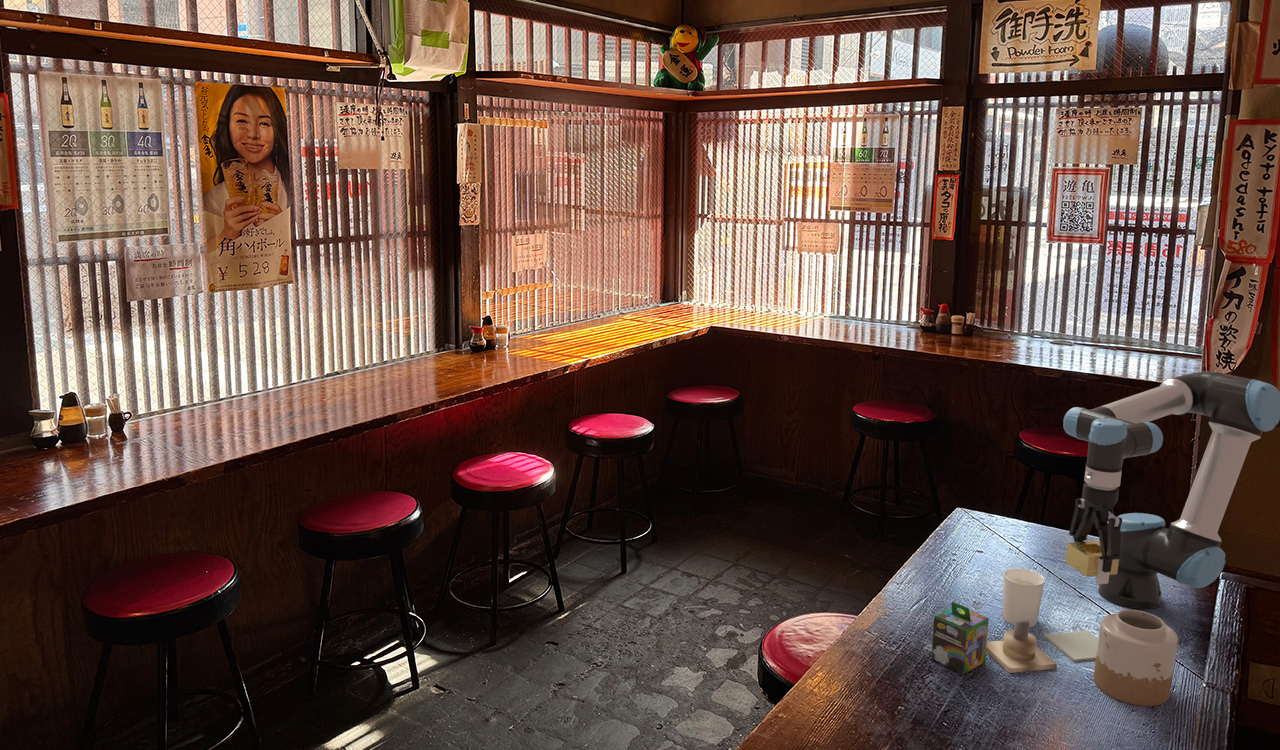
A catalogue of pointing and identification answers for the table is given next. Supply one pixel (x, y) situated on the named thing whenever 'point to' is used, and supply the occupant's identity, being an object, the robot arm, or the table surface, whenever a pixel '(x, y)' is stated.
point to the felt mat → (1075, 644)
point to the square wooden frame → (1087, 558)
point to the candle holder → (1022, 595)
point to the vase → (1135, 658)
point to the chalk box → (960, 638)
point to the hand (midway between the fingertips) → (1089, 575)
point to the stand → (1019, 650)
